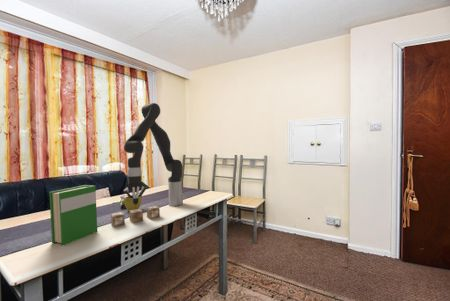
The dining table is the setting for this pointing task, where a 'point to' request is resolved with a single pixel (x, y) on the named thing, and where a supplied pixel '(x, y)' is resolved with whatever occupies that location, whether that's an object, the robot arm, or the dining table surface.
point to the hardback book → (73, 213)
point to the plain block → (136, 215)
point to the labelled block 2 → (153, 212)
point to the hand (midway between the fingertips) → (135, 204)
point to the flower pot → (130, 205)
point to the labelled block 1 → (117, 219)
